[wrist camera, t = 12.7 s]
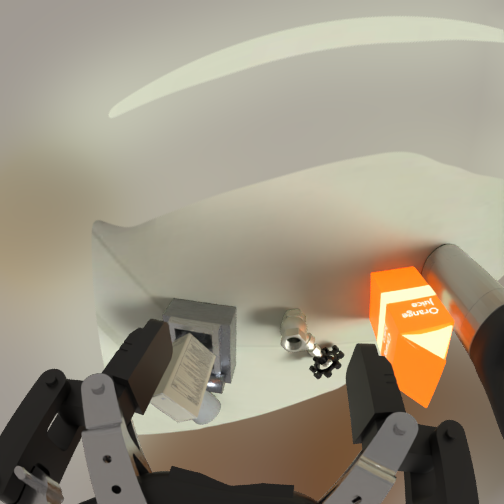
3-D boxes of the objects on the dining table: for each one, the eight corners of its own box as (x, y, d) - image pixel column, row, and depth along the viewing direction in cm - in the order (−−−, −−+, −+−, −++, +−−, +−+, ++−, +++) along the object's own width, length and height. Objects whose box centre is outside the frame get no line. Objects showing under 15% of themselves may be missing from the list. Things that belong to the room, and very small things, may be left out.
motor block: (236, 306, 44) (225, 341, 36) (235, 364, 50) (227, 398, 42) (173, 298, 45) (153, 328, 38) (182, 355, 51) (167, 386, 43)
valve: (270, 319, 45) (311, 358, 47) (266, 345, 39) (312, 385, 41) (302, 298, 42) (342, 342, 45) (303, 324, 36) (346, 368, 39)
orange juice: (414, 265, 37) (475, 350, 19) (409, 311, 40) (452, 400, 22) (369, 272, 39) (412, 368, 21) (368, 318, 42) (396, 416, 24)
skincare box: (172, 341, 41) (142, 397, 30) (190, 331, 39) (160, 391, 28) (199, 366, 42) (177, 424, 31) (218, 357, 41) (197, 419, 30)
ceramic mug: (201, 375, 53) (190, 402, 46) (224, 396, 55) (216, 423, 48) (169, 384, 57) (157, 408, 50) (192, 403, 59) (182, 427, 52)
